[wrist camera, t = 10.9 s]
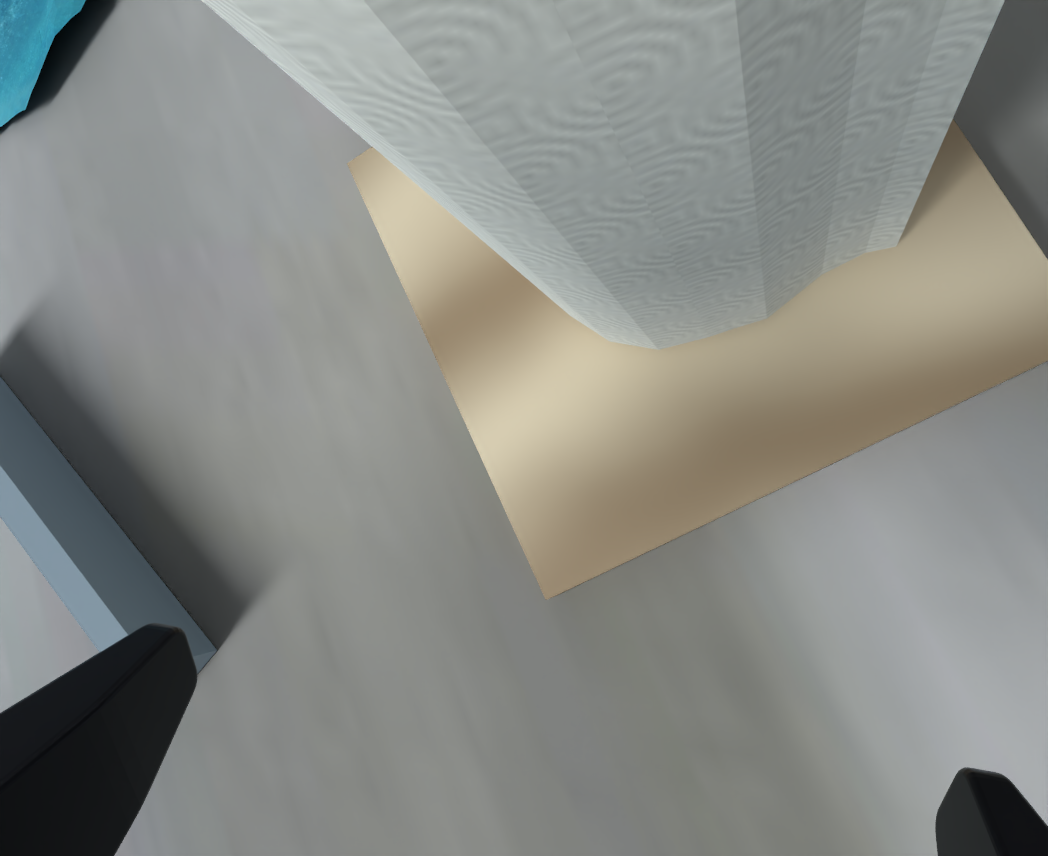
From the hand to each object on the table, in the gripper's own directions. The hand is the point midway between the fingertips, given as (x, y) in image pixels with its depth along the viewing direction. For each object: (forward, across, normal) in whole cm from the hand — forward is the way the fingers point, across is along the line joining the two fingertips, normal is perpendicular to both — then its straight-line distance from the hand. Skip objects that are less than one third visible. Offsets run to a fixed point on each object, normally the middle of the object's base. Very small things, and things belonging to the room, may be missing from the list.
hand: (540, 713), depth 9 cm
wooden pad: (+14, -1, -1) cm, 14 cm away
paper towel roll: (+13, -1, -1) cm, 13 cm away
